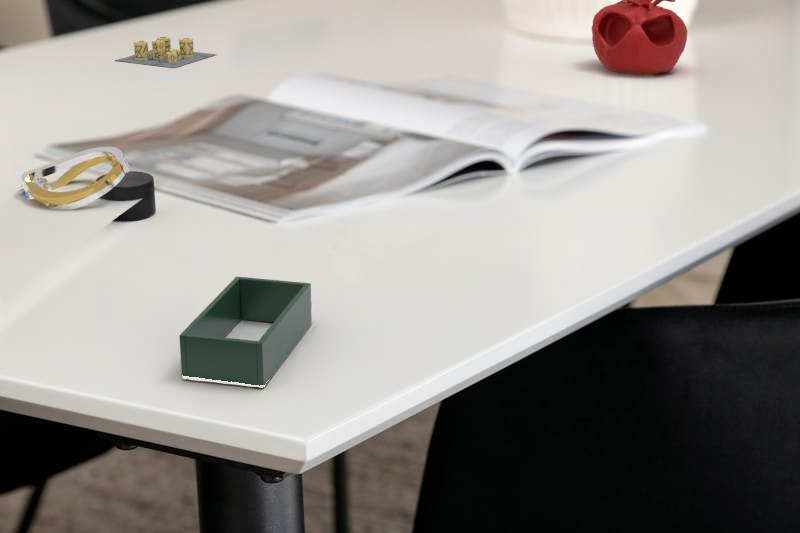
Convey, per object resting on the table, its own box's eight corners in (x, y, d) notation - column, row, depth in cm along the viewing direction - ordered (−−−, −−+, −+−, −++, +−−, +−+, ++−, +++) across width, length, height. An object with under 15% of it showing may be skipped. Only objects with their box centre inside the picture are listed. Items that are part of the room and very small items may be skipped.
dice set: (132, 59, 139) (131, 42, 138) (160, 51, 143) (159, 34, 142) (169, 64, 136) (168, 46, 136) (197, 55, 141) (196, 38, 140)
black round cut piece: (88, 219, 88) (85, 185, 87) (113, 202, 92) (110, 168, 91) (141, 223, 87) (139, 189, 86) (164, 206, 91) (162, 172, 90)
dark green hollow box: (181, 379, 65) (179, 335, 64) (238, 316, 72) (236, 276, 71) (263, 389, 64) (262, 343, 63) (311, 324, 71) (310, 283, 70)
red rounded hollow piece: (599, 56, 142) (605, -28, 138) (690, 63, 138) (697, -23, 135) (580, 74, 133) (585, -15, 129) (676, 82, 130) (684, -10, 126)
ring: (144, 157, 91) (44, 187, 92) (125, 120, 89) (23, 152, 91) (130, 210, 86) (23, 242, 87) (109, 171, 84) (1, 204, 85)
